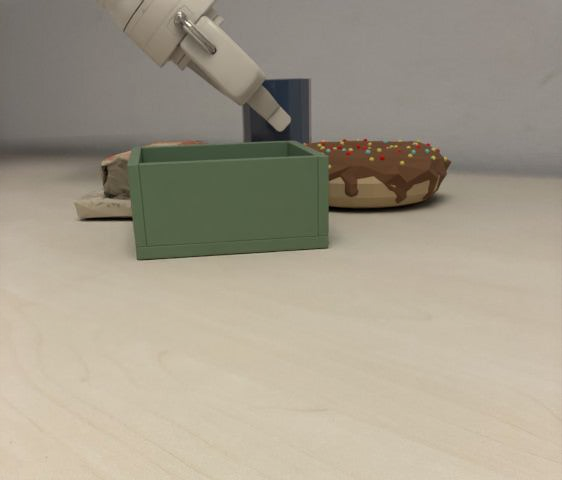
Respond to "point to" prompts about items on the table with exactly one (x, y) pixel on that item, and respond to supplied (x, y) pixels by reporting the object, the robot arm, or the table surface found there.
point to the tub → (228, 198)
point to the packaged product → (114, 188)
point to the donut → (381, 172)
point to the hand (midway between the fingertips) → (280, 123)
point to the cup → (293, 101)
